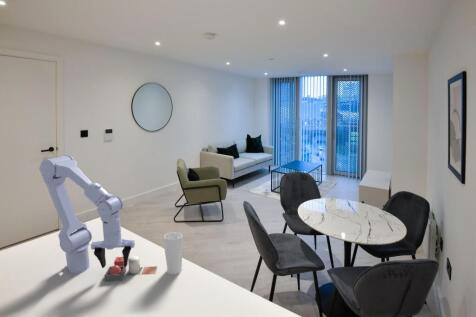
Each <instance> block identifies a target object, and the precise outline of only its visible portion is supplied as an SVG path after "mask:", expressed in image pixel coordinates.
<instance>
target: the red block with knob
mask: <svg viewBox="0 0 476 317" xmlns="http://www.w3.org/2000/svg"><path fill="white" fill-rule="evenodd" d="M113 264H114V265H118V266H124V258H123V256H116V257H115V259H114V261H113ZM114 265H113V266H114Z"/></svg>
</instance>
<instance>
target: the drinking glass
mask: <svg viewBox="0 0 476 317" xmlns="http://www.w3.org/2000/svg"><path fill="white" fill-rule="evenodd" d="M183 240H184V239H183V234H182V233H181V232H178V231H172V232H167V233H166V234H164V236H163V246H164V254H165V261H166V271H167V274H168V275H172V276H173V275H179V274H180V273H182V271H183V268H182V267H183V264H182V263H183V252H184V251H183V250H184V249H183V248H184V247H183V246H184V242H183Z"/></svg>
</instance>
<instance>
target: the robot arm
mask: <svg viewBox="0 0 476 317" xmlns="http://www.w3.org/2000/svg"><path fill="white" fill-rule="evenodd" d="M39 172H40V174H41V176H42V180H43V182H44V183H45V185H46V188H47V190H48V193H49V195H50V199H51V200H52V203H53V205H54V208H55V212H56V213H57V215H58V218H59V220H60V223H61V226H62V228H61V230H60V231H59V233H58V234H57V237H58V239H59V247H60V249H61V250H62V251H63V252H64V253H65V258H66V265H65V266H64V269H66V268H67V269H68V273H70V274H80V273H83V272H85V271H88V269H89V268H90V267H91V265H90V264H91V263H90V256H89V246H90V250H94V251H93V255H94V256H95V257H96V258H97V260H98V261H99V263H100V266H101V268H102V269H104V268H105V267H106V266H107V260H106V250H108V251H109V250H113V249H116V248H123V249H122V250H121V254H122V257H123V258H124V267H126V268H127V267H128V265H129V263H128V259H129V258H130V253H131V250H132V249H134V248H135V245H136V242H135V240H133V239H132V240H131V239H122V229H121V228H122V227H121V216H120V215H121V214H120V211H121V210H122V209H123V202H122V200H121V199H122V198H120V197H119V196H118V195H113V194H110V193H109V192H108V191H107V190H106V189H105V188H103V187H102V185H101V184H100V183H98V182H92V181H91V180H90V179H89V178H88V177H87V175H85V174H84V173H83V171H82V170H81V169H80V167H78V162H77V160H75V159H74V158H73V156H71V155H70V154H65V155H63V156H62V155H61V156H58V157H52V158H44V159H43V160H42V161H41V162H40V165H39ZM67 178H69V179H70V180H72V182H74V183H75V184H76V185H77V186H79V187H80V188H82V189H83V190H84V191H83V192H84V196H85V197H86V198H87V199H88V200H89V201H90V202H92V204H93V205H95V206H96V207H97V208H96V211H97V213H98V215H99V216H100V220H101V223H102V232H103V234H102V235H103V240H99V241H92V238H93V236H92V231H91V230H90V229H89V228H88V226H87V225H86V223H84V222H82V221H79V219H78V216H77V213H76V212H75V209H74V206H73V203H72V200H71V198H70V195H69V194H68V191H67V187H66V186H65V181H66V179H67ZM91 241H92V243H91V244H90V242H91Z"/></svg>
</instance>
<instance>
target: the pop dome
mask: <svg viewBox="0 0 476 317" xmlns="http://www.w3.org/2000/svg"><path fill="white" fill-rule="evenodd" d="M110 267H111V266H110ZM110 274H121V268H120V267H119V266H118V265H112V267H111V269H110Z"/></svg>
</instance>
